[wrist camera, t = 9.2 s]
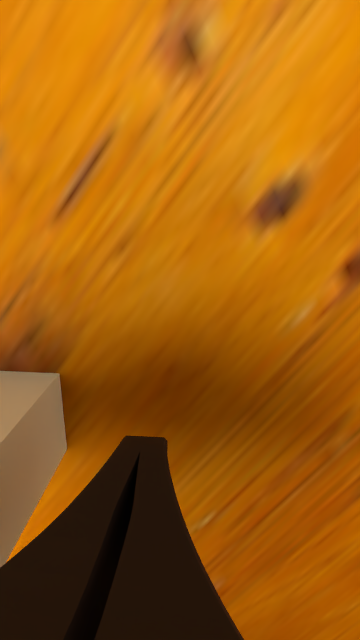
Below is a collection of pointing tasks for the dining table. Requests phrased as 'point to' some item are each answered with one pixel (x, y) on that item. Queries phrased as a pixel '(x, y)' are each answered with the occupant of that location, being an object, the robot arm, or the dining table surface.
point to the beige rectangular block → (27, 447)
